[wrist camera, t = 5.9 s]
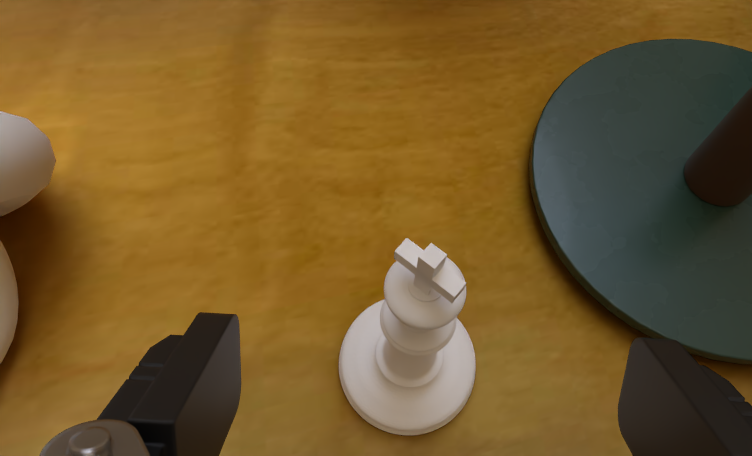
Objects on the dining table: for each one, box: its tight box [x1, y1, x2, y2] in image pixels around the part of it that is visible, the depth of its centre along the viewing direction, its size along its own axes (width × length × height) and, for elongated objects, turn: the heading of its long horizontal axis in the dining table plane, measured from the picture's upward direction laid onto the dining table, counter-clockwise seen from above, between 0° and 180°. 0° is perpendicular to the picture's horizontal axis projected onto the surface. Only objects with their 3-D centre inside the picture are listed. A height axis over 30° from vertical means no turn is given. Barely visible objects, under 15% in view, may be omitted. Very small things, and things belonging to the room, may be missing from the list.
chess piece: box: [339, 238, 476, 435], centre depth 17 cm, size 5×5×10 cm
